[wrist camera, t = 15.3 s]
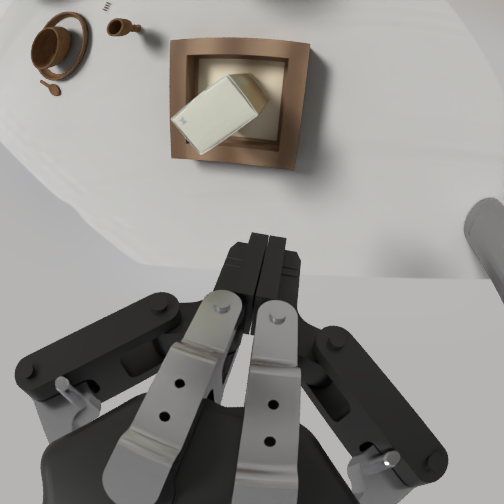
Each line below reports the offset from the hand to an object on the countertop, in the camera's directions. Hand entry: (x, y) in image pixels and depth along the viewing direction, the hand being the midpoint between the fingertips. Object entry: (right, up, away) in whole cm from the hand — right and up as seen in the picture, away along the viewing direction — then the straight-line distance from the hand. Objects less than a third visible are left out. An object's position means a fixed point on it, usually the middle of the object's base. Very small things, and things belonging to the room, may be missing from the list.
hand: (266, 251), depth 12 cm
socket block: (-2, +19, +18) cm, 26 cm away
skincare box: (-2, +18, +17) cm, 25 cm away
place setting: (-26, +30, +14) cm, 42 cm away
